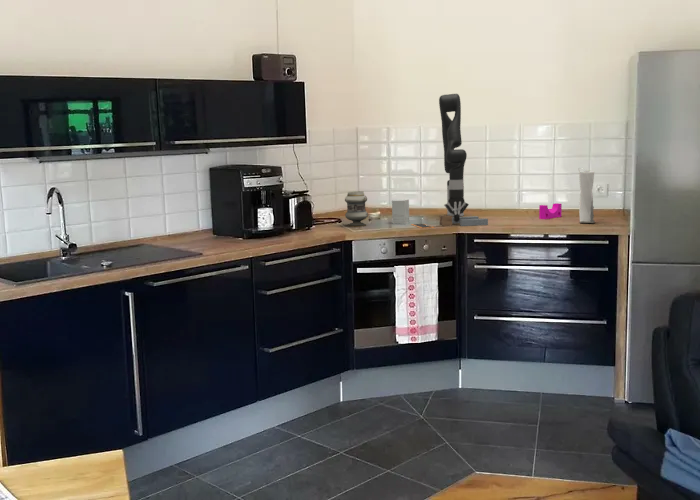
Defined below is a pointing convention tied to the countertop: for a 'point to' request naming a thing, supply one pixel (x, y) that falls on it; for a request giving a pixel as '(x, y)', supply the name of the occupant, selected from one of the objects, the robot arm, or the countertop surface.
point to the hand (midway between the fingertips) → (456, 221)
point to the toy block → (550, 211)
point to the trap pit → (422, 226)
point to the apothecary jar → (356, 208)
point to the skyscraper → (586, 196)
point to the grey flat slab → (471, 221)
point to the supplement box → (400, 211)
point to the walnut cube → (446, 220)
